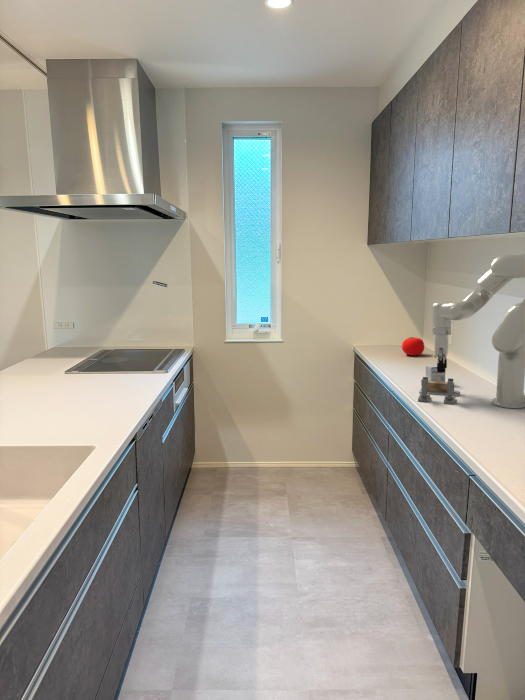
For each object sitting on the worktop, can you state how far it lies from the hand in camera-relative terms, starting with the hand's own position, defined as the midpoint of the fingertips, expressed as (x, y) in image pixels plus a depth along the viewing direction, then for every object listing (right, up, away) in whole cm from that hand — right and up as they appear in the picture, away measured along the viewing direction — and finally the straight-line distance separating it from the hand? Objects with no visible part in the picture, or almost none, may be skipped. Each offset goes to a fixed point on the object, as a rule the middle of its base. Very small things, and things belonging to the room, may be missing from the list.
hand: (442, 370), depth 208 cm
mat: (0, -10, +2) cm, 10 cm away
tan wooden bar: (0, -10, +2) cm, 10 cm away
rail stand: (-6, -12, -9) cm, 16 cm away
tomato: (+15, +5, +88) cm, 90 cm away
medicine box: (+3, -7, +18) cm, 20 cm away
